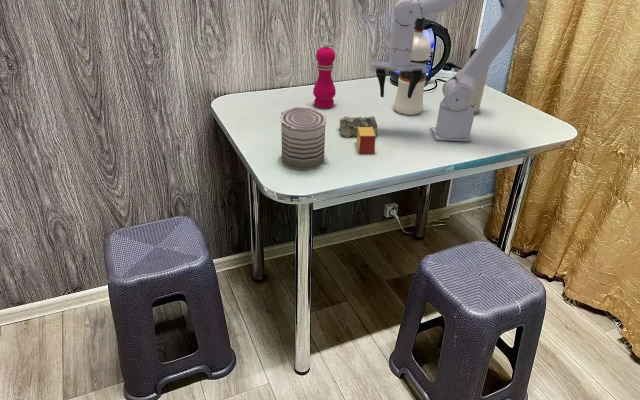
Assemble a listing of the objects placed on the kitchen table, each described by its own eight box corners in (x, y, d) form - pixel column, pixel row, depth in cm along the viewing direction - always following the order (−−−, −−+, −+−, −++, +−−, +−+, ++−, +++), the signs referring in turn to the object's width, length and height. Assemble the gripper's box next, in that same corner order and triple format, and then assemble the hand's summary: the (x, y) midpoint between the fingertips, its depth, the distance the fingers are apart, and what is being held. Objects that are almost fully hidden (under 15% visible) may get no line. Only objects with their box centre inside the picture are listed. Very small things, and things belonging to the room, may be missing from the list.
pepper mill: (335, 109, 150) (338, 45, 139) (312, 108, 150) (313, 45, 139) (335, 101, 156) (337, 39, 145) (313, 100, 156) (314, 38, 145)
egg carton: (340, 137, 133) (340, 124, 131) (338, 126, 139) (339, 113, 137) (377, 138, 134) (379, 124, 131) (374, 126, 140) (375, 114, 138)
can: (324, 149, 126) (325, 107, 120) (326, 170, 117) (327, 126, 110) (281, 149, 126) (280, 107, 119) (279, 170, 116) (279, 125, 110)
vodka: (391, 114, 148) (404, 13, 132) (394, 103, 156) (406, 7, 140) (421, 117, 147) (437, 16, 131) (422, 106, 155) (438, 9, 138)
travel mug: (475, 116, 149) (489, 52, 138) (455, 111, 152) (468, 48, 141) (482, 110, 153) (496, 48, 142) (463, 105, 156) (475, 44, 145)
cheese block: (370, 143, 130) (372, 127, 128) (374, 153, 125) (375, 136, 123) (356, 143, 130) (357, 127, 127) (359, 153, 125) (360, 136, 122)
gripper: (375, 50, 122) (370, 100, 129) (431, 52, 122) (423, 102, 129) (373, 43, 128) (369, 91, 135) (426, 45, 128) (419, 93, 135)
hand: (395, 96), depth 132 cm, fingers open, 7 cm apart
